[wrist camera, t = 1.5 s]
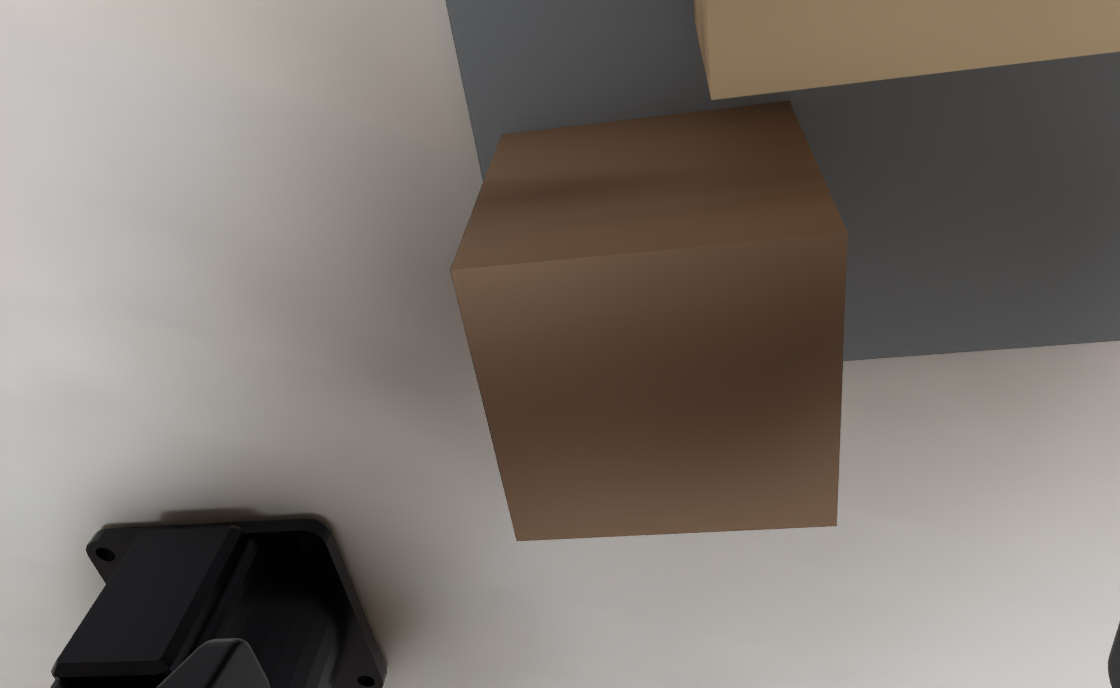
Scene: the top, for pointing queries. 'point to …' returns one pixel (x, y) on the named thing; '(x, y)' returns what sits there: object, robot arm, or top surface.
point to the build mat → (864, 166)
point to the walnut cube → (659, 325)
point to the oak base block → (887, 39)
